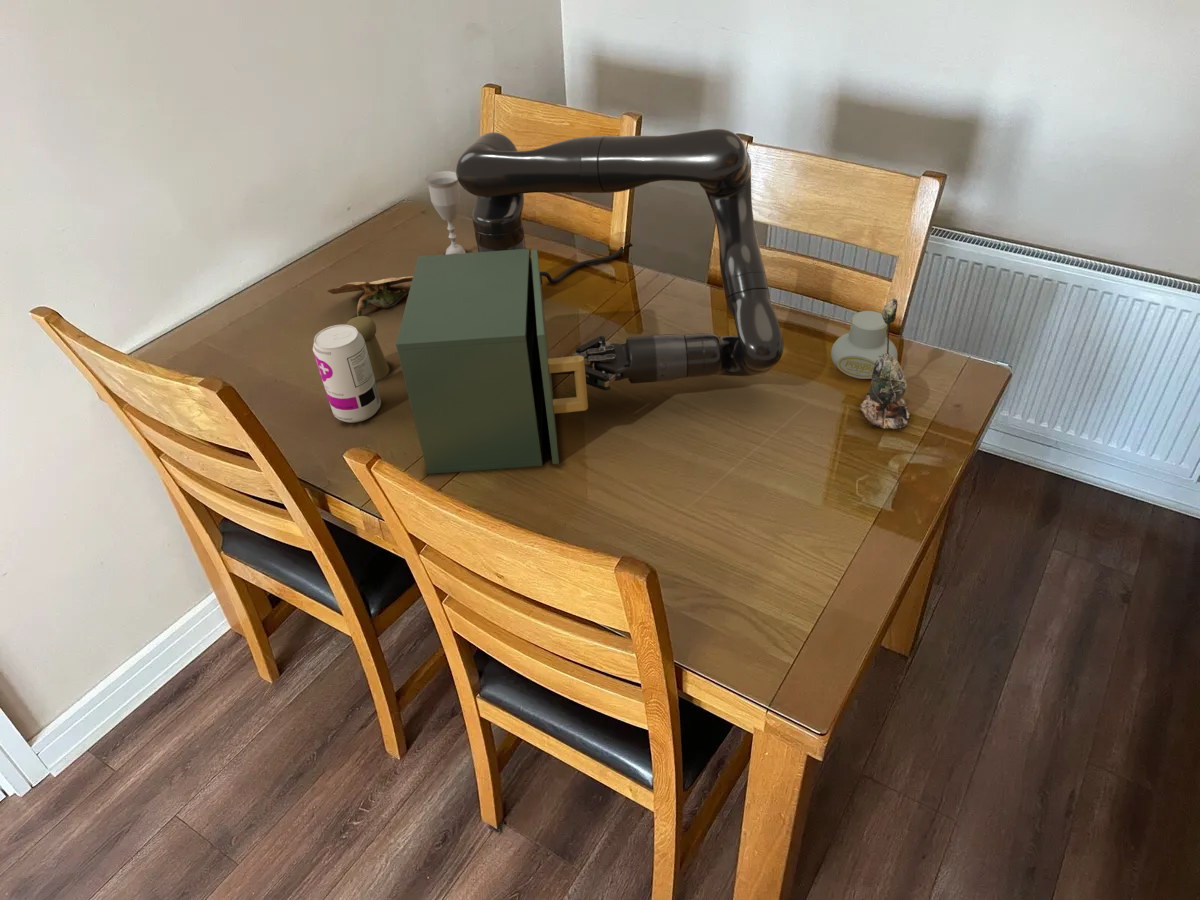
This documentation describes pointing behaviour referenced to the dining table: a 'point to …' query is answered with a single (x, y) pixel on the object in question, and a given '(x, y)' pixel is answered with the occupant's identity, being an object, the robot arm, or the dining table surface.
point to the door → (555, 367)
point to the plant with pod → (887, 385)
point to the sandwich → (375, 292)
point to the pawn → (371, 345)
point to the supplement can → (346, 373)
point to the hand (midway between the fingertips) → (549, 366)
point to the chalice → (446, 202)
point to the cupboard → (474, 361)
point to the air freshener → (862, 345)
